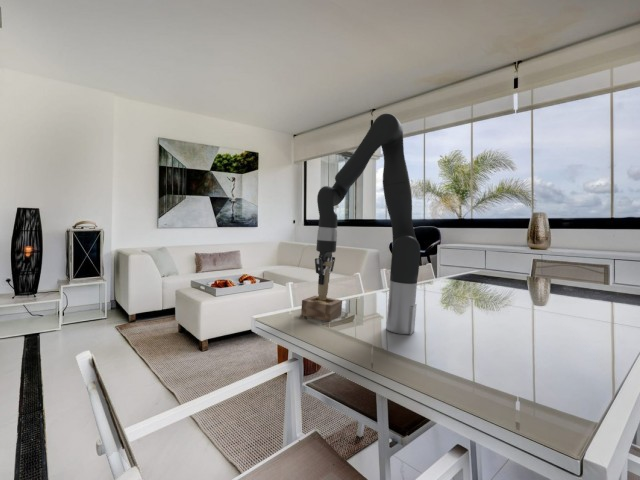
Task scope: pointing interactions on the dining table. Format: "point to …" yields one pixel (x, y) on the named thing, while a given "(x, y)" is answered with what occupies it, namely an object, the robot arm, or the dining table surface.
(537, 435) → the dining table surface
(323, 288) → the handle
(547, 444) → the dining table surface
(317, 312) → the brown wooden open box
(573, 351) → the dining table surface
